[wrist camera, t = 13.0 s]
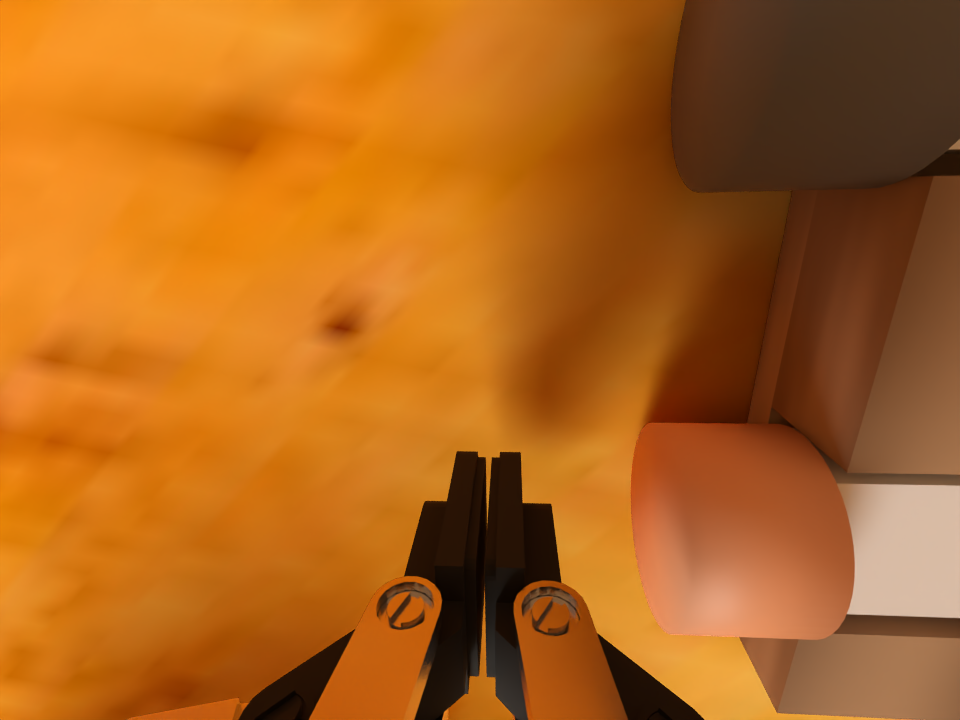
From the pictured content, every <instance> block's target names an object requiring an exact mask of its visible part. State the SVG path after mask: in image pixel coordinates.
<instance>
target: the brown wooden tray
mask: <svg viewBox="0 0 960 720" xmlns="http://www.w3.org/2000/svg"><path fill="white" fill-rule="evenodd" d="M747 424H782V425H785V426H789V427H791V428H796V429H797V430H798V431H800V432H801V433H802V434H803V435H804V436H805V437H807V438H808V439H809V440H810V441H811V442H812V443H813V444H815V445H816V446H817V447H818V448H819V449H820V450H822V451H823V452H824V453H825V454H826V455H827V456H828V457H830V458H831V459H832V460H833V461H834V462H835V463H837V464H838V465H839V466H840V467H841V468H842V469H843V470H845V471H846V472H847V473H893V474H957V475H960V154H942V155H941V156H940V157H939V158H937V159H936V160H935V161H933V162H932V163H930V164H929V165H928V166H926V167H925V168H924V169H922V170H920V171H918V172H917V173H915V174H913V175H911V176H910V177H908V178H906V179H904V180H901V181H899V182H896V183H894V184H891V185H887V186H884V187H880V188H870V189H835V190H793V191H792V196H791V201H790V206H789V211H788V216H787V222H786V227H785V232H784V237H783V242H782V247H781V252H780V257H779V262H778V267H777V272H776V278H775V283H774V288H773V293H772V298H771V303H770V308H769V313H768V318H767V323H766V328H765V334H764V339H763V344H762V349H761V354H760V359H759V364H758V369H757V374H756V379H755V384H754V390H753V395H752V400H751V405H750V410H749V415H748V420H747ZM739 638H740V640H741V642H742V644H743V646H744V648H745V650H746V652H747V654H748V656H749V658H750V660H751V662H752V664H753V666H754V668H755V670H756V672H757V674H758V676H759V678H760V680H761V682H762V684H763V686H764V688H765V690H766V692H767V694H768V696H769V698H770V700H771V702H772V704H773V706H774V708H775V710H776V712H777V713H787V714H808V715H829V716H850V717H871V718H891V719H912V720H960V618H943V617H915V616H886V615H857V614H846V617H845V619H844V621H843V622H842V624H841V625H840V627H839V628H838V629H837V630H836V631H835V632H834V633H833V634H832V635H830V636H828V637H826V638H824V639H819V640H803V639H777V638H751V637H739Z"/></svg>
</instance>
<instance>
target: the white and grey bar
mask: <svg viewBox="0 0 960 720" xmlns="http://www.w3.org/2000/svg"><path fill="white" fill-rule="evenodd" d="M671 133H672V145H673V151H674V157H675V162H676V166H677V169H678V172H679V175H680V177H681V179H682V180H683V182H684V184H685V185H686V186H687V187H688V188H689V189H691V190H692V191H695V192H744V191H789V190H835V189H870V188H880V187H884V186H887V185H891V184H894V183H896V182H899V181H901V180H904V179H906V178H908V177H910V176H911V175H913V174H915V173H917V172H918V171H920V170H922V169H924V168H925V167H926V166H928V165H929V164H930V163H932V162H933V161H935V160H936V159H937V158H939V157H940V156H941V155H942V154H960V0H686V3H685V7H684V12H683V16H682V21H681V26H680V32H679V37H678V43H677V50H676V56H675V64H674V73H673V84H672V99H671Z"/></svg>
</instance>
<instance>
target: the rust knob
mask: <svg viewBox="0 0 960 720" xmlns="http://www.w3.org/2000/svg"><path fill="white" fill-rule="evenodd" d="M631 514H632V528H633V537H634V545H635V552H636V558H637V563H638V568H639V573H640V577H641V581H642V585H643V589H644V592H645V595H646V598H647V601H648V604H649V607H650V609H651V611H652V614H653V616H654V618H655V619H656V621H657V623H658V624H659V626H660V627H661V628H662V629H663V630H664V631H665V632H666V633H668V634H673V635H698V636H724V637H751V638H777V639H803V640H819V639H824V638H826V637H828V636H830V635H832V634H833V633H834V632H835V631H836V630H837V629H838V628H839V627H840V625H841V624H842V622H843V621H844V619H845V617H846V614H857V615H886V616H915V617H943V618H960V475H957V474H893V473H847V472H846V471H845V470H843V469H842V468H841V467H840V466H839V465H838V464H837V463H835V462H834V461H833V460H832V459H831V458H830V457H828V456H827V455H826V454H825V453H824V452H823V451H822V450H820V449H819V448H818V447H817V446H816V445H815V444H813V443H812V442H811V441H810V440H809V439H808V438H807V437H805V436H804V435H803V434H802V433H801V432H800V431H798V430H797V429H796V428H791V427H789V426H785V425H782V424H741V423H648V424H647V425H645V426H644V428H643V429H642V430H641V432H640V434H639V437H638V440H637V443H636V447H635V451H634V457H633V464H632V475H631Z"/></svg>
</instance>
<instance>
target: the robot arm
mask: <svg viewBox="0 0 960 720" xmlns="http://www.w3.org/2000/svg"><path fill="white" fill-rule="evenodd" d="M484 590H485V615H486V666H487V677H496V696H497V698H498V699H499V700H500V701H501V702H502V703H503V704H504V705H505V706H506V707H507V708H508V710H509V711H510V712H511V713H512V714H513V720H704V719H703V718H702V717H701V716H700V715H699V714H698V713H697V712H696V711H695V710H694V709H693V708H692V707H690V706H689V705H688V704H687V703H685V702H684V701H683V700H682V699H680V698H679V697H678V696H676V695H675V694H674V693H673V692H671V691H670V690H669V689H668V688H666V687H665V686H664V685H662V684H661V683H660V682H659V681H657V680H656V679H655V678H654V677H652V676H651V675H650V674H648V673H647V672H646V671H645V670H643V669H642V668H641V667H640V666H638V665H637V664H636V663H634V662H633V661H632V660H631V659H629V658H628V657H627V656H626V655H624V654H623V653H622V652H620V651H619V650H618V649H617V648H615V647H614V646H613V645H612V644H610V643H609V642H608V641H606V640H605V639H604V638H603V637H601V636H600V635H599V634H598V633H597V632H596V629H595V626H594V624H593V621H592V618H591V615H590V613H589V610H588V607H587V605H586V603H585V601H584V600H583V598H582V597H581V596H580V595H579V594H578V593H577V592H576V591H575V590H574V589H572V588H571V587H569V586H567V585H565V584H563V583H561V576H560V568H559V561H558V553H557V545H556V537H555V529H554V521H553V513H552V506H551V504H535V503H522V477H521V453H520V452H500V458H493V457H492V464H491V479H490V494H489V509H488V523H487V503H486V458H485V457H478V452H463V451H457V453H456V458H455V463H454V468H453V474H452V479H451V484H450V489H449V494H448V499H447V501H425V502H424V505H423V508H422V512H421V516H420V519H419V523H418V527H417V531H416V534H415V538H414V542H413V545H412V549H411V553H410V557H409V560H408V564H407V568H406V571H405V575H404V577H400V578H396V579H394V580H392V581H390V582H387V583H386V584H384V585H383V586H382V587H381V588H379V589H378V590H377V591H376V593H375V594H374V596H373V597H372V598H371V600H370V602H369V604H368V606H367V608H366V610H365V612H364V614H363V616H362V618H361V619H360V621H359V623H358V625H357V627H356V629H355V630H353V631H352V632H350V633H348V634H347V635H345V636H344V637H342V638H341V639H339V640H338V641H336V642H335V643H333V644H332V645H330V646H329V647H327V648H326V649H324V650H323V651H321V652H319V653H318V654H316V655H315V656H313V657H312V658H310V659H309V660H307V661H306V662H304V663H303V664H301V665H300V666H298V667H297V668H295V669H294V670H292V671H290V672H289V673H287V674H286V675H284V676H283V677H281V678H280V679H278V680H277V681H275V682H274V683H272V684H271V685H269V686H268V687H266V688H265V689H264V690H262V691H261V692H260V693H259V694H257V695H256V696H255V697H254V698H253V699H252V700H251V701H250V702H247V703H242V704H240V700H239V697H238V698H233V699H228V700H222V701H217V702H211V703H206V704H201V705H195V706H190V707H185V708H179V709H174V710H168V711H163V712H158V713H152V714H147V715H142V716H136V717H132V718H129V719H126V720H448V715H449V707H450V706H451V705H453V704H454V703H455V702H456V701H457V700H458V699H459V698H461V697H462V696H463V695H464V694H468V689H469V677H470V676H479V669H480V653H481V637H482V621H483V606H484Z"/></svg>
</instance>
